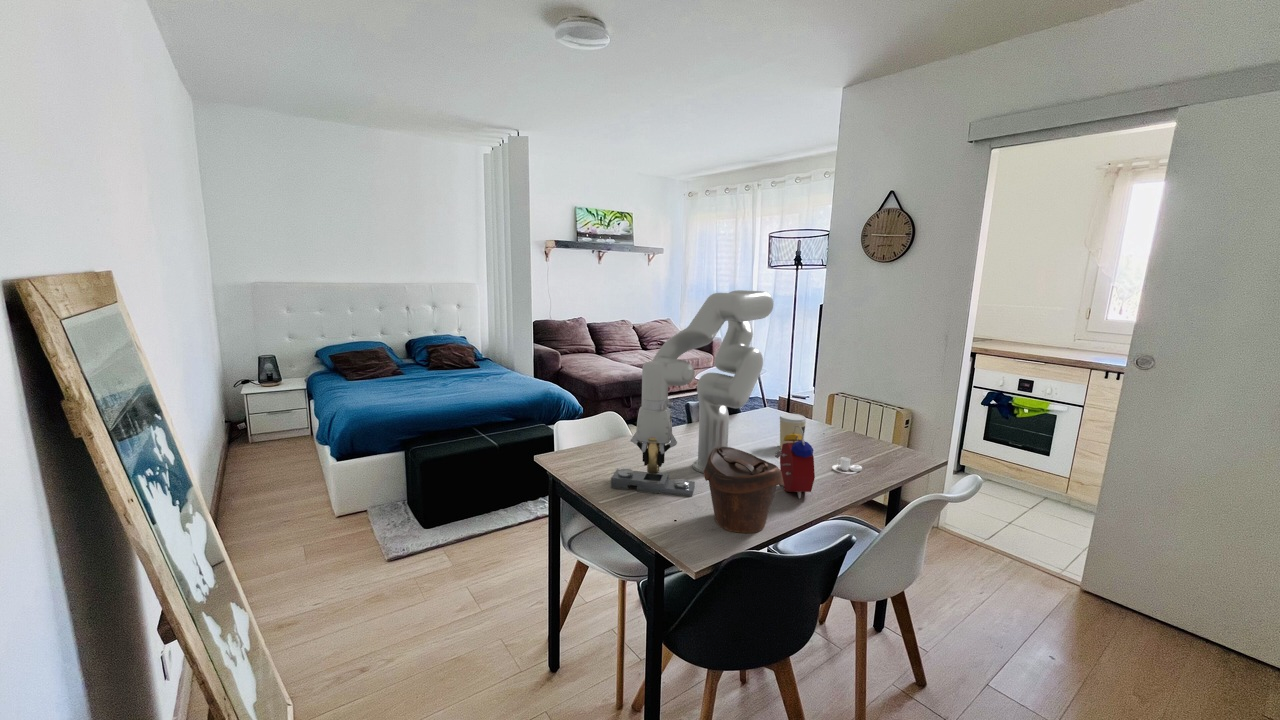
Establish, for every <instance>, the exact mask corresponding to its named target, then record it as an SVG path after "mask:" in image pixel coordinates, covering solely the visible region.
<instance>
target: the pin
mask: <svg viewBox="0 0 1280 720" xmlns="http://www.w3.org/2000/svg"><path fill="white" fill-rule="evenodd" d="M648 441H652V442H657V440H656V438H649V440H648ZM647 448H648V453H647V465H646V466H647V467H646V472H648V473H650V474H657V473H660V467H659V466H658V459H659V453H660V445H659V444H657V443H648V446H647Z"/></svg>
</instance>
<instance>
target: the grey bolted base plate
mask: <svg viewBox="0 0 1280 720" xmlns="http://www.w3.org/2000/svg"><path fill="white" fill-rule="evenodd" d="M669 477H670V474H669V472H668V473H667V472H659V473H657V474H650V473H648V472H647V471H638V470H633V469H630V468H619V469H618V468H617V469H616V470H615V472H614V473H613V474H612V476H611V477H610V488H611V489H613V490H614V489H616V490H625V491H627V490H629V488H630V487H631V486H636V492H638V493H648V494H657V495H659V494H663V495H664V494H665V495H675V496H676V495H677V496H683V497H684V496H685V497H693V494H694V491H695V487H696V486H695V485H696V482H695V481H693V480H688V479H685V478H677V479H671V478H670V479H669Z"/></svg>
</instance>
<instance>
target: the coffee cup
mask: <svg viewBox="0 0 1280 720" xmlns="http://www.w3.org/2000/svg"><path fill="white" fill-rule="evenodd" d="M806 423H807V418H806V417H805V416H804V415H802V414H797V413H782V414H781V415H780V416H779V440H780V441H779V444H780V445H779V446H780V449H782V445H783V444H785V443H793V441H784V438H785V436H786V435H788V434H792V433H793V431H794V429H795V426H800V428H801V430H802V432H803V439H804V438H805V432H806V431H805V430H806V425H807V424H806ZM795 434H799V435H801V436H802V433H801V431H800V429H799V427H796V432H795ZM804 440H805V439H804ZM795 442H798V441H795Z"/></svg>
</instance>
